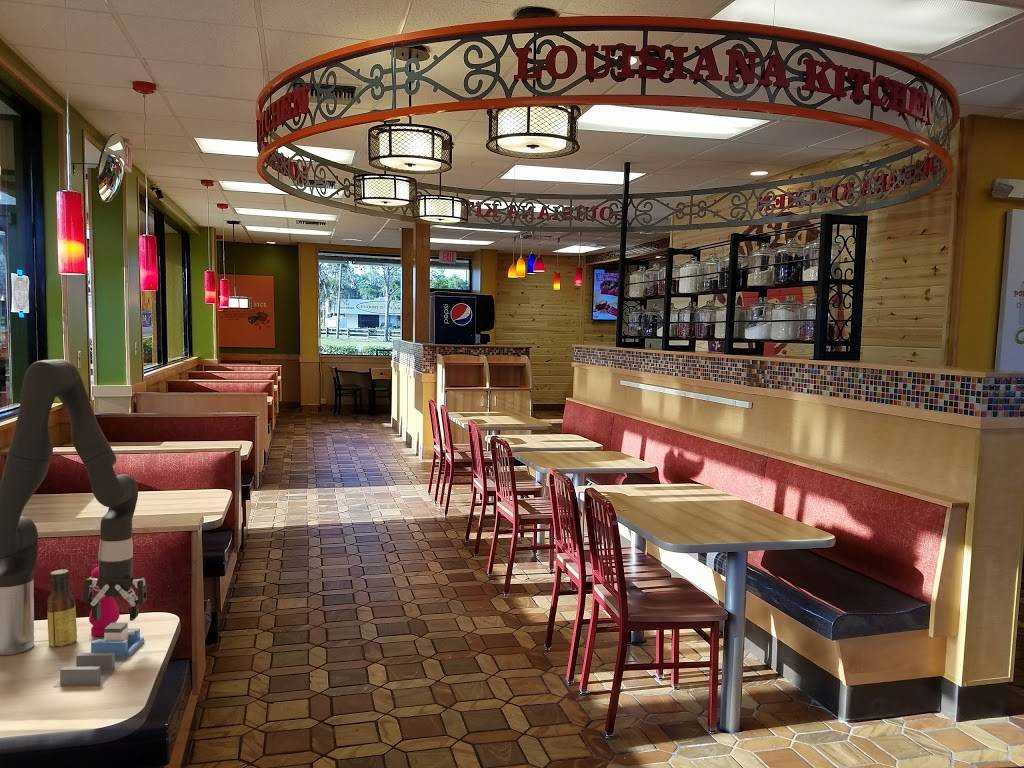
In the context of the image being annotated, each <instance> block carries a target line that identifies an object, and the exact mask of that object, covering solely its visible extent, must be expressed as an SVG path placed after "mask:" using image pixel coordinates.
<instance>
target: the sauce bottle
mask: <svg viewBox="0 0 1024 768" xmlns="http://www.w3.org/2000/svg"><path fill="white" fill-rule="evenodd" d="M69 572H70V571H69V570H68V569H64V568H63V569H56V570H53V571H51V572H50V574H49V575H50V579H51V592H50V594H49V596H48V598H47V601H46V603H47V604H46V607H47V610H46V614H47V617H46V618H47V633H48V635H47V637H48V646H50V647H53V648H63V647H69V646H72V645H73V644H75V643H76V642H77V640H78V632H77V631H78V627H77V611H76V610H77V609H76V607H77V606H76V600H75V598H74V595H73V592H72V590H71V588H70V585H69V584H70V583H69V577H70V573H69Z"/></svg>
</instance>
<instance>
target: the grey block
mask: <svg viewBox="0 0 1024 768" xmlns="http://www.w3.org/2000/svg"><path fill="white" fill-rule="evenodd" d="M128 627H129V622H116V623H110V624H109V625H108V626H107V627H106V628H105V629H104V637H103V640H121V639H125V640H128Z"/></svg>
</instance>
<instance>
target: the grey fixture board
mask: <svg viewBox="0 0 1024 768" xmlns="http://www.w3.org/2000/svg"><path fill="white" fill-rule="evenodd" d="M145 642H146V640H145V636H141V629H140V628H137V627H136V628H135V627H134V628H128V640H125V639H121V640H104V639H95V640H92V641H91V642H90V652H79V653H78V654H77V655H76V656H75V657H76V660H75V661H76V662H75V666H63V667H62V668H60V669H59V677H60V678H59V681H58V682H57V683H56V684H55V685H54V686H53V688H95V687H99V688H101V686H102V685H103V684H105V683H106V681H107V680H108V679H109V678H111V677H112V675H114V673H115V672H116V671H117V670H118V669H119V668H120V667H121V666H122V665H123V664H124V663H125V662H126V661H127V660H128V659H129V658H130V657H131V655H133V654H134V653H135V652H136V650H138V649H139V647H141V646H142V644H144V643H145Z"/></svg>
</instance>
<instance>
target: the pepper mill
mask: <svg viewBox="0 0 1024 768" xmlns="http://www.w3.org/2000/svg"><path fill="white" fill-rule="evenodd" d="M90 577H93V578H95V579H98V578H99V565H98V566H95V568H93V570H92V571H91V576H90ZM93 591H95V596H96V595H97V594H98V593H99V592H100V591H101V589H100V588H99V586H98V585H97V584H96V585H95V586H94V588H93ZM99 603H101V617H100V619H99V620H94V618H92V609H91V610H90V612H89V615H88V621H89V624H91V625H92V627H91V628H90V635H91V636H92V635H93V636H92V637H94V636H104V629H105V628H106V627H107V626H108V625H109V624H110V623H117V622H118V621H119V619H120V609H119V607H118V605H117V603H116V601H115V599H114V596H112V597H107V596H106V595H105V596H104V597H103V598H102V599H101V601H100V602H99Z"/></svg>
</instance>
